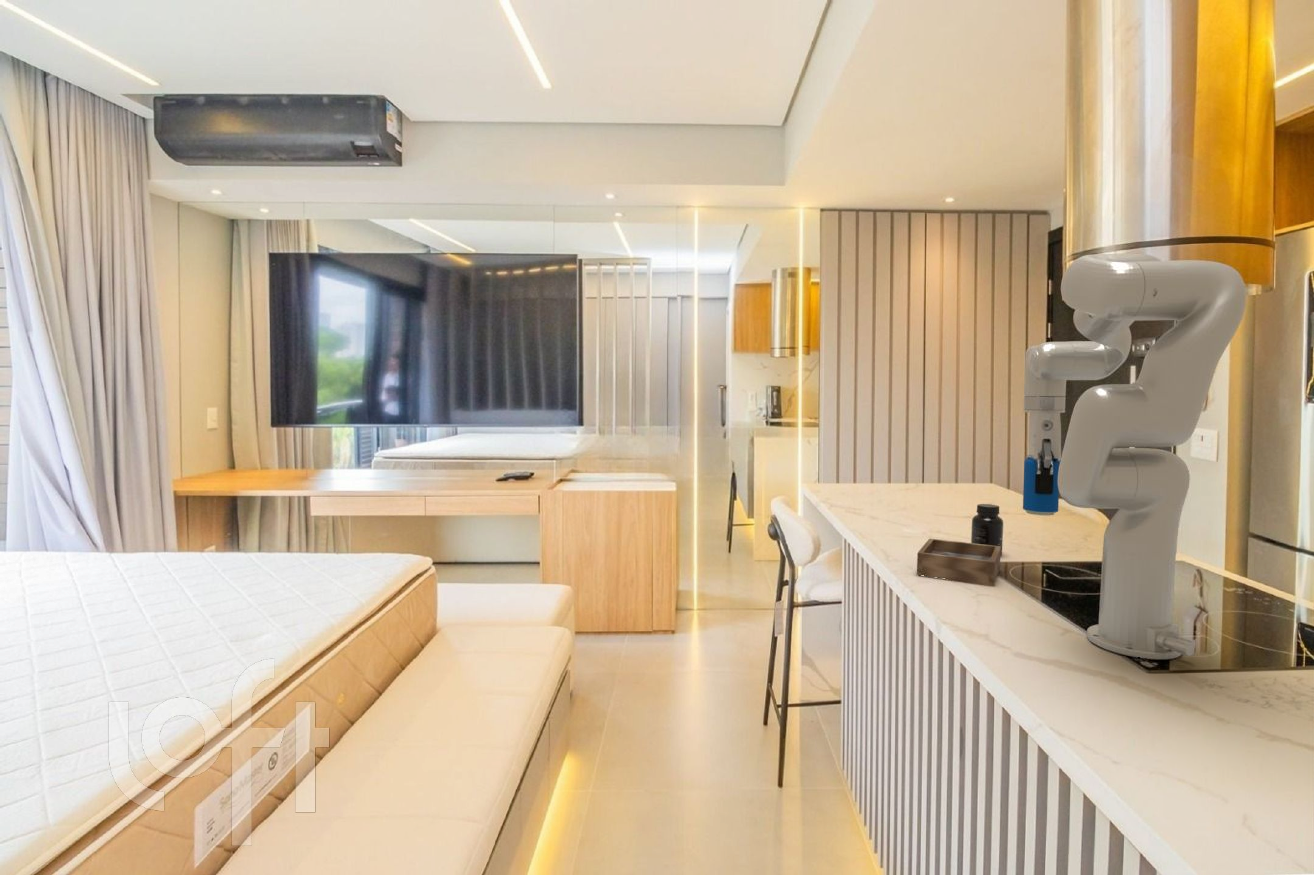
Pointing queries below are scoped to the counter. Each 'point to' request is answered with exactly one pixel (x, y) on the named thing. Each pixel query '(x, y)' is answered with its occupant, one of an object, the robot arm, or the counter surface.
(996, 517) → the supplement bottle
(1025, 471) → the beverage can
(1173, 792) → the counter surface
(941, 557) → the bore box
